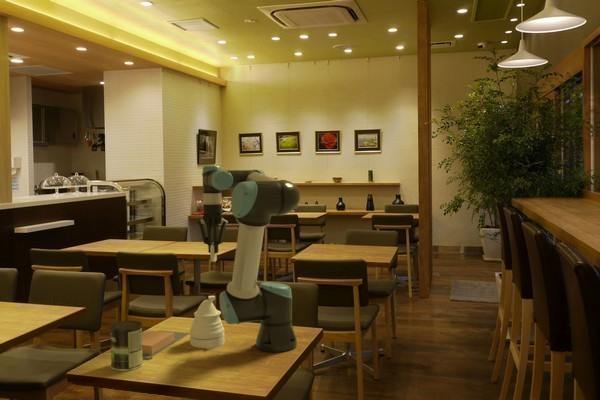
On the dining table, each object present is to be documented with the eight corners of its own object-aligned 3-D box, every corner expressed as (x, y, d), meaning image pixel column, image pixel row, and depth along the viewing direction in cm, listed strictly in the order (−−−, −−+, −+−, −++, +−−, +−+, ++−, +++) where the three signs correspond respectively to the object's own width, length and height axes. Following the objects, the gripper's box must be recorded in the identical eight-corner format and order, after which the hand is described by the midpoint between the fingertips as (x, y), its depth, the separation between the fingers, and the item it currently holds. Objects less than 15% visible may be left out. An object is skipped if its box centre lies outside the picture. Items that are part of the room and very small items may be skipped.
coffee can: (112, 373, 181) (111, 330, 180) (109, 363, 190) (108, 322, 189) (145, 368, 185) (144, 326, 184) (141, 358, 194) (140, 319, 193)
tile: (146, 330, 215) (122, 343, 200) (174, 332, 211) (151, 345, 196) (146, 338, 215) (122, 352, 200) (174, 341, 212) (151, 355, 196)
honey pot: (228, 338, 216) (227, 292, 215) (220, 349, 203) (219, 300, 202) (195, 337, 217) (194, 292, 216) (185, 348, 205) (184, 300, 204)
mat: (149, 359, 193) (149, 358, 193) (114, 356, 197) (114, 354, 197) (190, 334, 222) (190, 333, 222) (159, 331, 226) (159, 330, 226)
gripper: (230, 203, 229) (232, 260, 230) (202, 203, 233) (203, 259, 234) (223, 204, 222) (224, 263, 223) (193, 204, 226) (195, 262, 227)
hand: (213, 261), depth 229 cm, fingers closed
